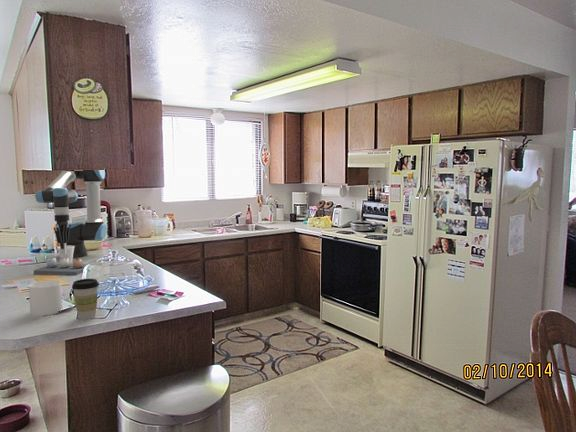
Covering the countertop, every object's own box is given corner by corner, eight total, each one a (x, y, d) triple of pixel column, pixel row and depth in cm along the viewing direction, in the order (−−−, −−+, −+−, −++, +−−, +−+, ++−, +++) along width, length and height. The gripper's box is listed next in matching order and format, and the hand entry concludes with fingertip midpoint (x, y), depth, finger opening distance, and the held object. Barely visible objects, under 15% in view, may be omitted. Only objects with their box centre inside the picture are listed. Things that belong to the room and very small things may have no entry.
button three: (76, 265, 248) (75, 258, 247) (83, 265, 247) (83, 258, 247) (71, 267, 243) (70, 259, 243) (78, 267, 243) (78, 259, 242)
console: (54, 266, 256) (53, 263, 256) (94, 267, 254) (94, 264, 254) (33, 273, 239) (33, 270, 238) (76, 275, 236) (76, 271, 236)
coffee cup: (88, 322, 163) (86, 285, 161) (67, 320, 165) (65, 283, 164) (105, 314, 172) (104, 279, 170) (86, 312, 175) (84, 277, 173)
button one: (50, 265, 249) (50, 257, 249) (58, 265, 249) (57, 257, 248) (45, 266, 245) (44, 259, 244) (53, 267, 244) (52, 259, 244)
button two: (63, 265, 249) (62, 257, 248) (70, 265, 248) (70, 257, 248) (58, 267, 244) (57, 259, 243) (65, 267, 243) (65, 259, 243)
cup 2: (78, 262, 268) (77, 245, 267) (69, 265, 259) (68, 248, 257) (64, 262, 269) (63, 245, 268) (54, 265, 260) (53, 248, 258)
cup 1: (54, 305, 184) (52, 278, 182) (67, 310, 177) (66, 283, 176) (25, 312, 174) (23, 284, 173) (38, 318, 167) (36, 289, 166)
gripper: (62, 213, 249) (64, 251, 252) (48, 215, 236) (50, 256, 239) (74, 213, 249) (76, 252, 251) (60, 215, 236) (62, 256, 238)
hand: (63, 253), depth 245 cm, fingers closed
